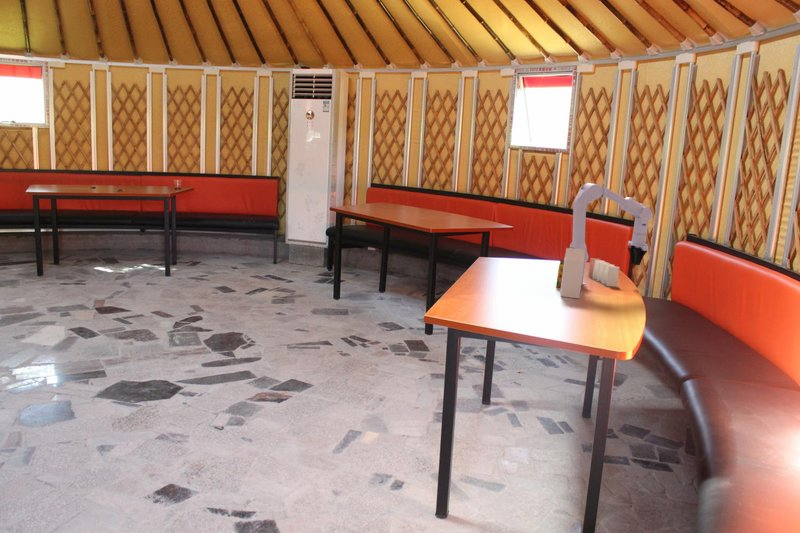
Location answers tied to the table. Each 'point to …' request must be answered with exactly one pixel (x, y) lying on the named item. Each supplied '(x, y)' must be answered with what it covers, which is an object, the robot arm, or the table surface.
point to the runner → (600, 282)
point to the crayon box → (560, 274)
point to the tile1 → (612, 276)
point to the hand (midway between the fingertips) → (635, 264)
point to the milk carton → (572, 273)
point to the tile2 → (605, 273)
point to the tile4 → (596, 268)
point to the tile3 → (601, 270)
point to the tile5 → (592, 267)
